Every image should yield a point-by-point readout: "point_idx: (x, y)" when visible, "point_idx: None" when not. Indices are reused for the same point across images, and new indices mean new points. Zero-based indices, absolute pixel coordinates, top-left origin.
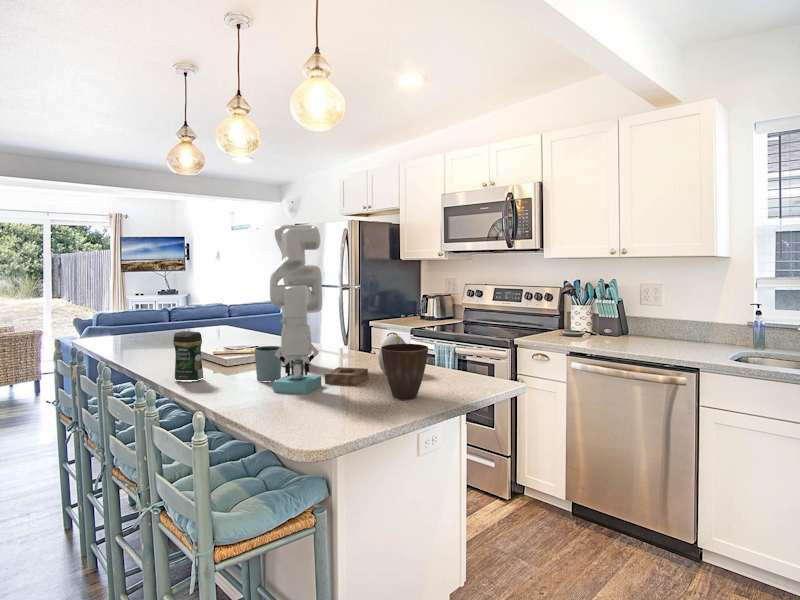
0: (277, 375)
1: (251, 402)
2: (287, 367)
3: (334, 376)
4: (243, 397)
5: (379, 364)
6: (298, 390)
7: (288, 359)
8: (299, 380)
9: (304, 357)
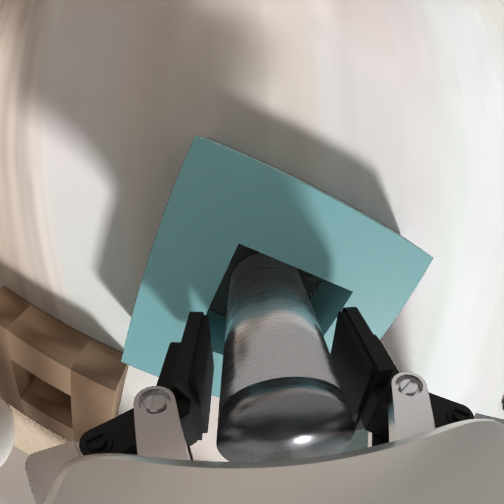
0: (358, 434)
1: (469, 63)
2: (379, 349)
3: (68, 358)
4: (500, 167)
5: (3, 425)
6: (256, 159)
7: (397, 417)
8: (255, 283)
9: (185, 450)
